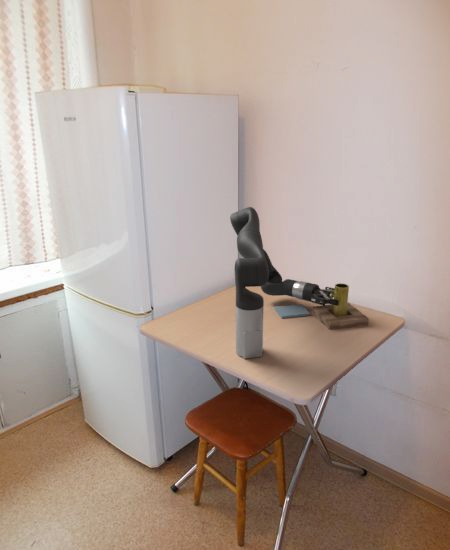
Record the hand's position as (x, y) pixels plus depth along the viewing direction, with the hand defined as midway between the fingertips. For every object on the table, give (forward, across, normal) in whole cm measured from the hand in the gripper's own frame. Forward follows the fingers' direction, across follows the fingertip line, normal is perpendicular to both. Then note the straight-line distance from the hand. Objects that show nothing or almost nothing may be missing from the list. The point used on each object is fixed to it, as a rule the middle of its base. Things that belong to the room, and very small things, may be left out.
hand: (343, 299), depth 166 cm
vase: (-1, 0, +9) cm, 9 cm away
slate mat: (-20, -5, +8) cm, 22 cm away
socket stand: (-1, 0, +8) cm, 9 cm away
